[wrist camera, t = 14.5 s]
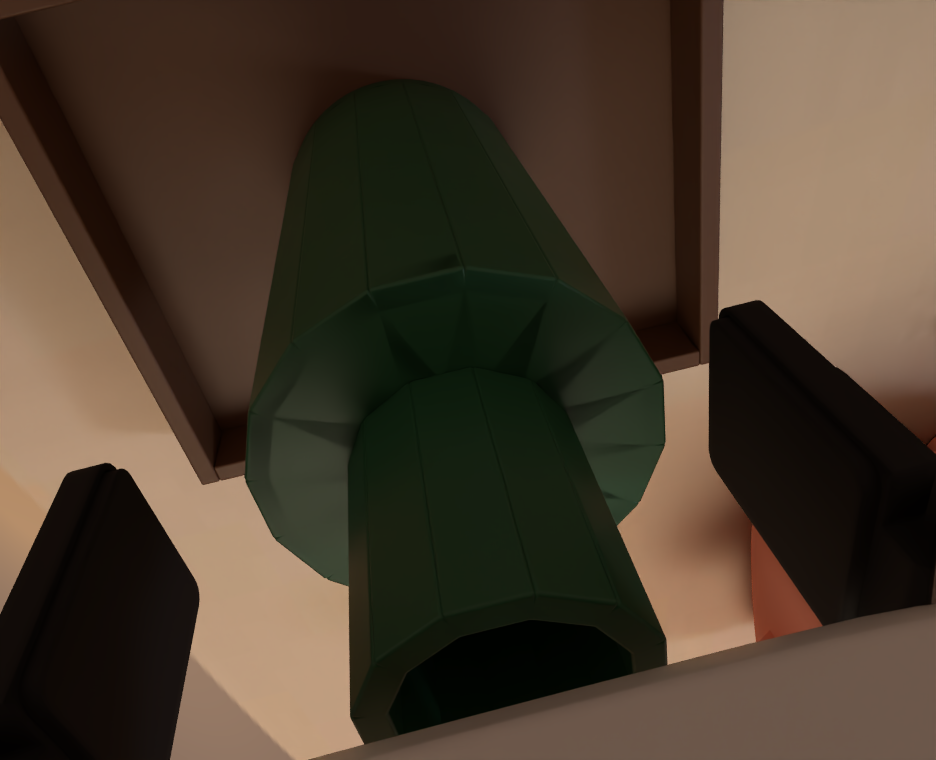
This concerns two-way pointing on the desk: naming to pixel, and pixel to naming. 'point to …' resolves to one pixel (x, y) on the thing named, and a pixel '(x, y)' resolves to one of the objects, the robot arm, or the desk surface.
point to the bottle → (451, 417)
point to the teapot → (778, 593)
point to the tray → (289, 120)
